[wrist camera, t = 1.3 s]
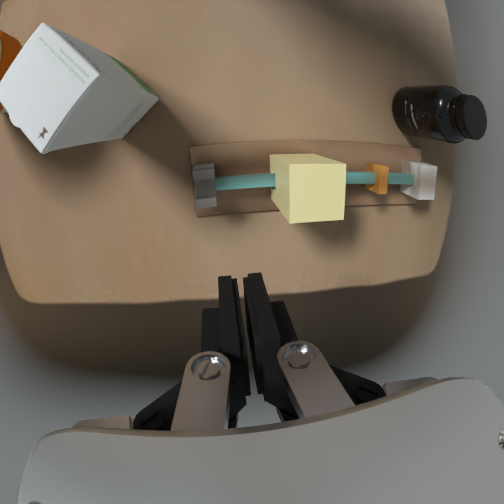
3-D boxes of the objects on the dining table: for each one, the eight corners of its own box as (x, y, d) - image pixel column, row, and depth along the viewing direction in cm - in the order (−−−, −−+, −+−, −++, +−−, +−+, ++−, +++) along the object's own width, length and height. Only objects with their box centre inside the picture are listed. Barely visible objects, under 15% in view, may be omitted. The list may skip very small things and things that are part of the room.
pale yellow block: (269, 154, 28) (289, 164, 21) (313, 153, 29) (346, 163, 21) (270, 198, 31) (289, 223, 23) (313, 196, 31) (343, 219, 23)
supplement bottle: (381, 112, 28) (448, 114, 17) (403, 77, 26) (469, 71, 15) (414, 145, 30) (478, 162, 19) (433, 111, 28) (497, 118, 17)
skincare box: (161, 100, 25) (107, 75, 11) (120, 143, 26) (42, 162, 12) (115, 57, 22) (43, 16, 8) (77, 100, 23) (-11, 94, 9)
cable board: (189, 146, 28) (185, 149, 24) (420, 148, 30) (442, 153, 26) (196, 215, 31) (193, 230, 27) (415, 203, 34) (435, 213, 30)
